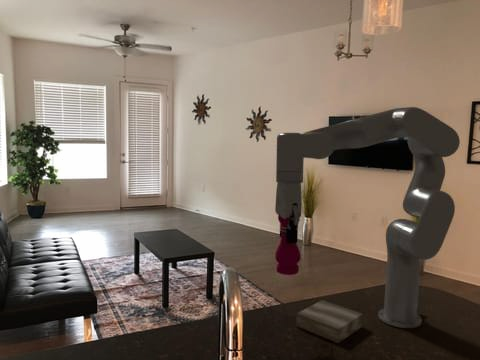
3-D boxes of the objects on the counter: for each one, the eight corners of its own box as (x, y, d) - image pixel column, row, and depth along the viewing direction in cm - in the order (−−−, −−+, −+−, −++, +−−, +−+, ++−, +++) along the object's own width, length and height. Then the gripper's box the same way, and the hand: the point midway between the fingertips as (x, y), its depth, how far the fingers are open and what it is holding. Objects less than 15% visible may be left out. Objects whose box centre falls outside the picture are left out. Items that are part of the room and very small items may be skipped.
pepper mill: (299, 276, 115) (301, 205, 112) (273, 274, 116) (274, 204, 114) (300, 268, 122) (302, 201, 119) (276, 266, 123) (277, 200, 121)
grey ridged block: (321, 312, 133) (322, 300, 133) (362, 326, 124) (362, 313, 123) (296, 326, 123) (296, 313, 122) (338, 343, 113) (338, 329, 113)
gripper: (268, 174, 123) (267, 233, 125) (286, 180, 107) (285, 249, 109) (292, 173, 125) (291, 232, 127) (313, 180, 108) (311, 247, 110)
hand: (288, 239), depth 118 cm, fingers closed on pepper mill, 5 cm apart
